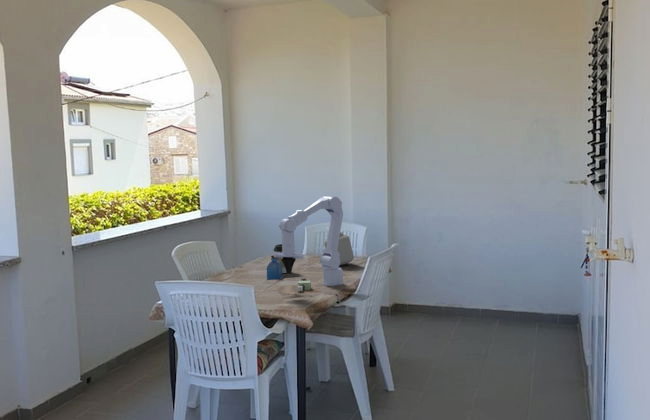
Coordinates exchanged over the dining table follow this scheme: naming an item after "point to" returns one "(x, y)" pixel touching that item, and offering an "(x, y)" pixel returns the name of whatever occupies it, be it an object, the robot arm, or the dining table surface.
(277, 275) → the perfume bottle
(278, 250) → the coffee cup
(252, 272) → the dining table surface
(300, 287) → the link
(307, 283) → the keeper
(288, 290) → the board
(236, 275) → the dining table surface
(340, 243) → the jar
